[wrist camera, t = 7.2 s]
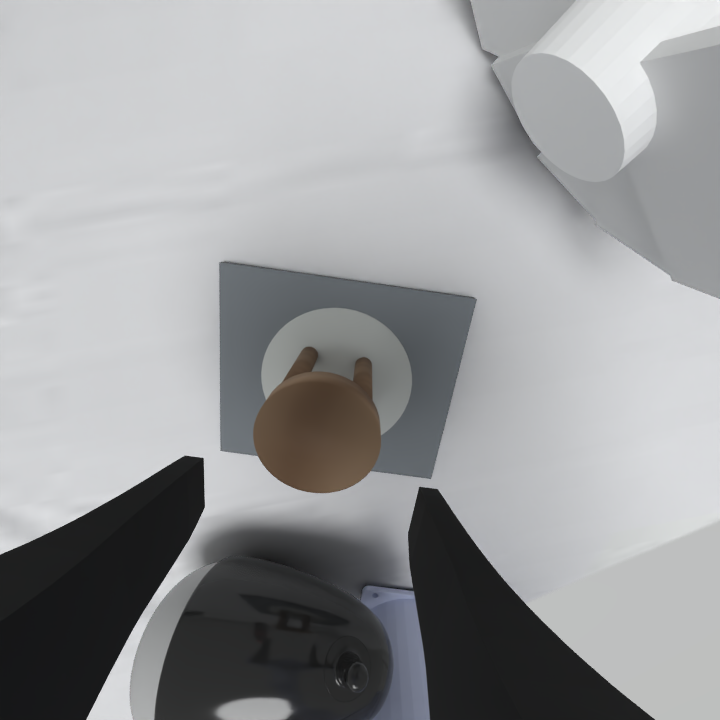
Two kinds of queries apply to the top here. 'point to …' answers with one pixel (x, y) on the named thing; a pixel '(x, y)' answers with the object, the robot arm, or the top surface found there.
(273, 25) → the top surface
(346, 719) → the black ball
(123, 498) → the robot arm
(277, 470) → the stool
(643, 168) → the spiral staircase
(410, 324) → the mat
